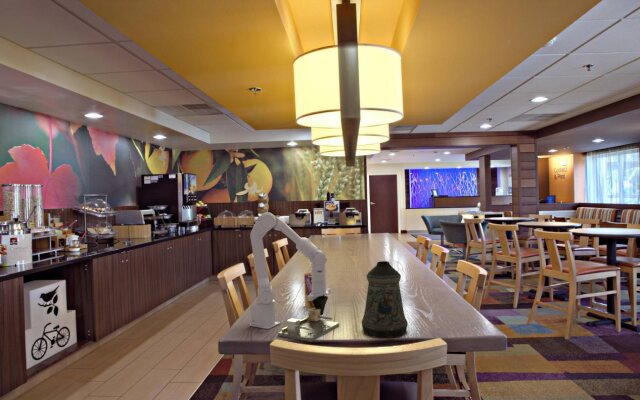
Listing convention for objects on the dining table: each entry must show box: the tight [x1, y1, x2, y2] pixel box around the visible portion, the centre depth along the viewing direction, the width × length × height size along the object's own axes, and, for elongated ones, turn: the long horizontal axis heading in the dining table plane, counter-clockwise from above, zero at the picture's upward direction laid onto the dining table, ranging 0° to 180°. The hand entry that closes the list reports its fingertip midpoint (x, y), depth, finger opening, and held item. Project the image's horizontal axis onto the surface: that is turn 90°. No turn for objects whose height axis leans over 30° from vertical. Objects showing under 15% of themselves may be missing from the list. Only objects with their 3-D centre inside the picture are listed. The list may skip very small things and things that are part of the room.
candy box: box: [303, 271, 315, 309], centre depth 192 cm, size 9×4×15 cm, turn 96°
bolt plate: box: [277, 316, 340, 343], centre depth 158 cm, size 14×20×2 cm
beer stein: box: [361, 260, 409, 340], centre depth 156 cm, size 16×19×25 cm
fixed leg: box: [286, 317, 312, 333], centre depth 153 cm, size 10×3×4 cm, turn 58°
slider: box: [307, 307, 333, 321], centre depth 165 cm, size 10×3×4 cm, turn 58°
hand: (320, 314), depth 170 cm, fingers closed
